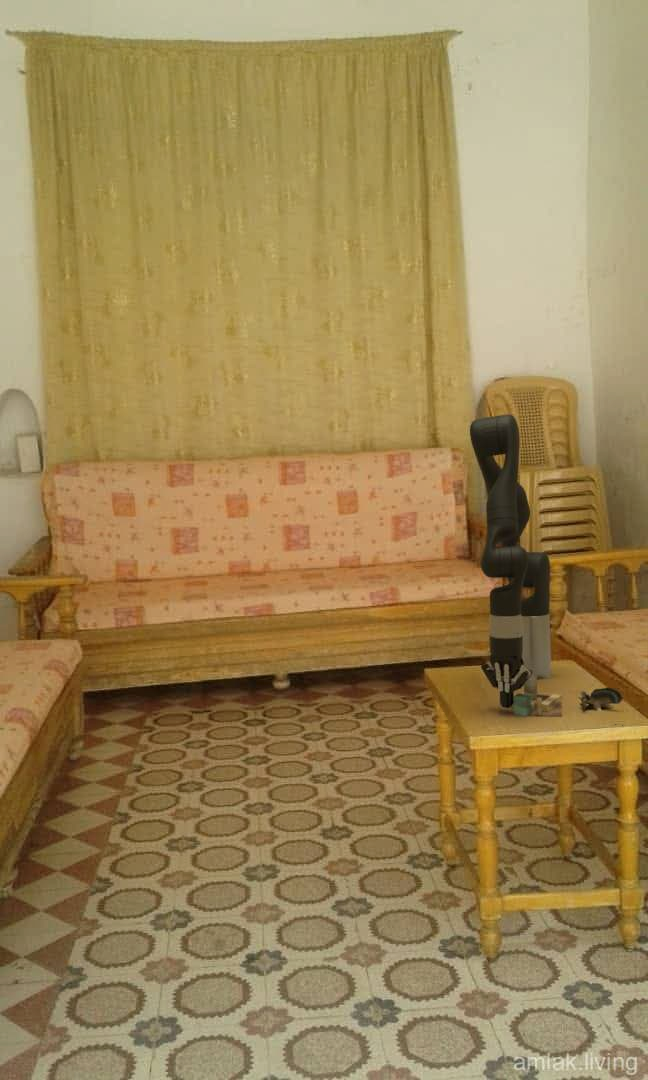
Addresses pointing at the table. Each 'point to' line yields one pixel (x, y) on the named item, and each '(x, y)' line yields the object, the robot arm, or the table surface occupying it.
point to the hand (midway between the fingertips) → (507, 706)
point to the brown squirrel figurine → (600, 699)
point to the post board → (534, 714)
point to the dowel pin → (539, 706)
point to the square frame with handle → (534, 703)
